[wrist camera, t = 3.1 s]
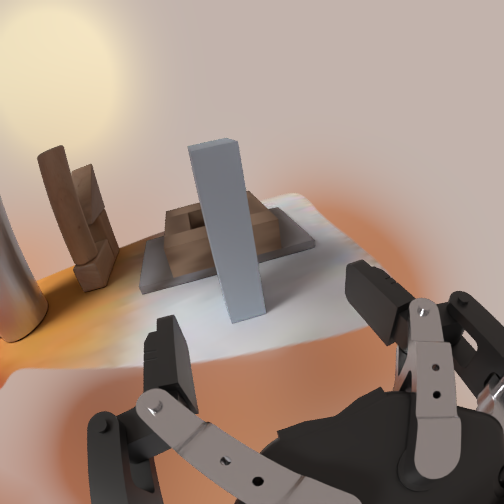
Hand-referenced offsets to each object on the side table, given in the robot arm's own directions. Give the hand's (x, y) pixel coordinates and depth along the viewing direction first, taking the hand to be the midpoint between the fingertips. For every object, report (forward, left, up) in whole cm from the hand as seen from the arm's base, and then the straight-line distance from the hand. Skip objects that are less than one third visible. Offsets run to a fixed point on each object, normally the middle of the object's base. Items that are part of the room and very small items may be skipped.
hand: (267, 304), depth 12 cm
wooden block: (-17, +25, -8) cm, 31 cm away
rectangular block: (0, +10, -8) cm, 13 cm away
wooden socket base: (0, +22, -8) cm, 23 cm away
